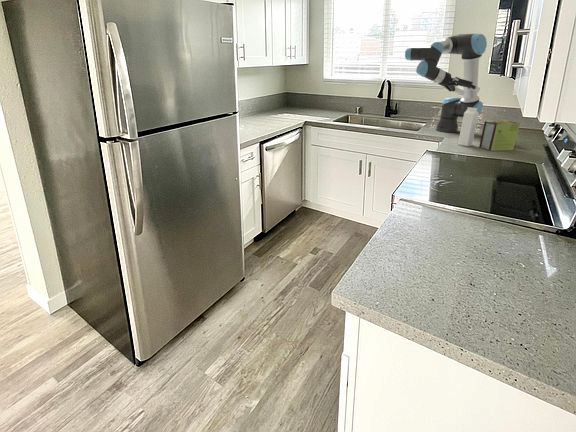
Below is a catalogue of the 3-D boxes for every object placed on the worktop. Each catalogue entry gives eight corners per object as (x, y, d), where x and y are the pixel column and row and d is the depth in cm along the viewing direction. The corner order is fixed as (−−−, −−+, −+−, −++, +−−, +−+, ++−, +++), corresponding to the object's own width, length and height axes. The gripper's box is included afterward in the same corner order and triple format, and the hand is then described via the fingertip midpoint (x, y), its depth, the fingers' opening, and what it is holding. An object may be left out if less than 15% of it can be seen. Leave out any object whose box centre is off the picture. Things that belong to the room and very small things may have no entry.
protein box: (513, 150, 216) (520, 123, 210) (490, 151, 213) (496, 123, 207) (500, 146, 225) (507, 120, 219) (478, 147, 222) (484, 120, 216)
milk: (466, 146, 224) (474, 108, 215) (457, 144, 228) (464, 107, 219) (472, 145, 227) (480, 107, 218) (462, 143, 232) (470, 106, 223)
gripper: (427, 87, 228) (455, 100, 233) (451, 80, 204) (482, 95, 209) (432, 75, 227) (460, 89, 232) (457, 66, 203) (488, 82, 208)
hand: (471, 92), depth 220 cm, fingers open, 13 cm apart
